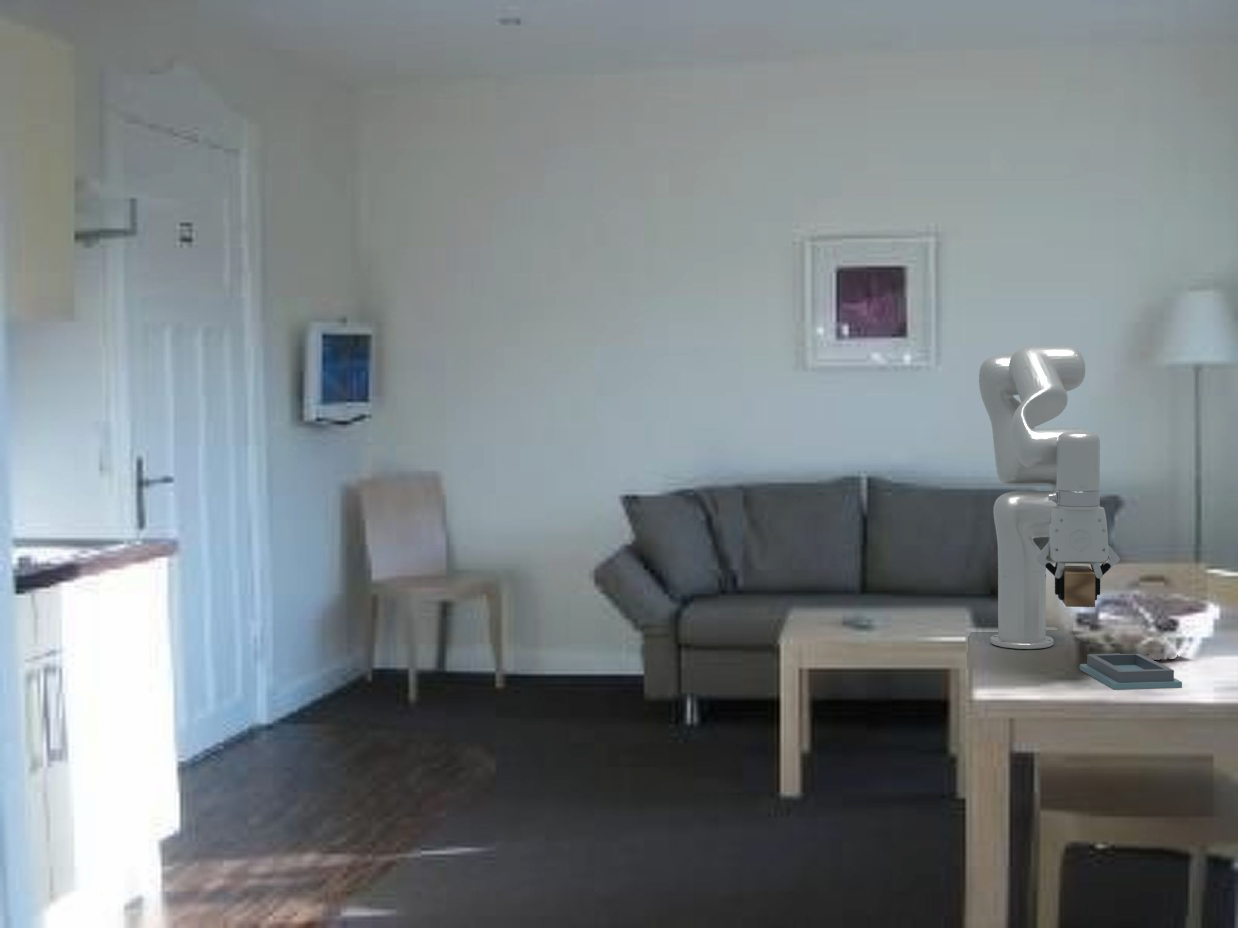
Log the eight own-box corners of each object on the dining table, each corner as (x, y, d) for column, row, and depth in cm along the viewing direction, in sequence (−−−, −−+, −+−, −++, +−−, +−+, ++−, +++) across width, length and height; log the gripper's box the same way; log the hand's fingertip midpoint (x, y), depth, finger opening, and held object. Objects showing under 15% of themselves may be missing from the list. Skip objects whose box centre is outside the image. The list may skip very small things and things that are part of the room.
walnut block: (1066, 606, 269) (1066, 573, 268) (1060, 597, 278) (1060, 565, 278) (1095, 607, 268) (1095, 573, 267) (1087, 597, 277) (1088, 565, 277)
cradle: (1079, 669, 284) (1079, 653, 283) (1143, 667, 284) (1143, 651, 284) (1113, 689, 267) (1114, 672, 266) (1181, 687, 267) (1182, 670, 267)
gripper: (1032, 502, 269) (1031, 602, 270) (1130, 501, 267) (1129, 602, 268) (1026, 497, 276) (1026, 595, 278) (1122, 497, 274) (1121, 595, 275)
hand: (1077, 597), depth 273 cm, fingers closed on walnut block, 5 cm apart
